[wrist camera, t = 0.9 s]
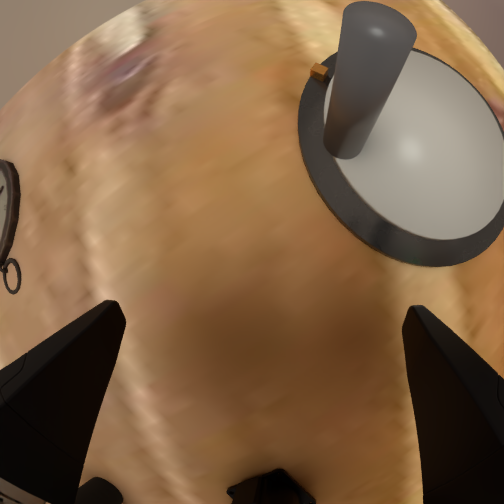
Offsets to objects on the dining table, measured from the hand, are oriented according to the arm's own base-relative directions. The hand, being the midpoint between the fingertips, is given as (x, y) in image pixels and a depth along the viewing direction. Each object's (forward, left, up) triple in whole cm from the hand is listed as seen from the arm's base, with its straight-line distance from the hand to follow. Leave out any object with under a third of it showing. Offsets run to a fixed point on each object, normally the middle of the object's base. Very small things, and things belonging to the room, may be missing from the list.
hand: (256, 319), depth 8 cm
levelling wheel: (+3, -18, -12) cm, 22 cm away
